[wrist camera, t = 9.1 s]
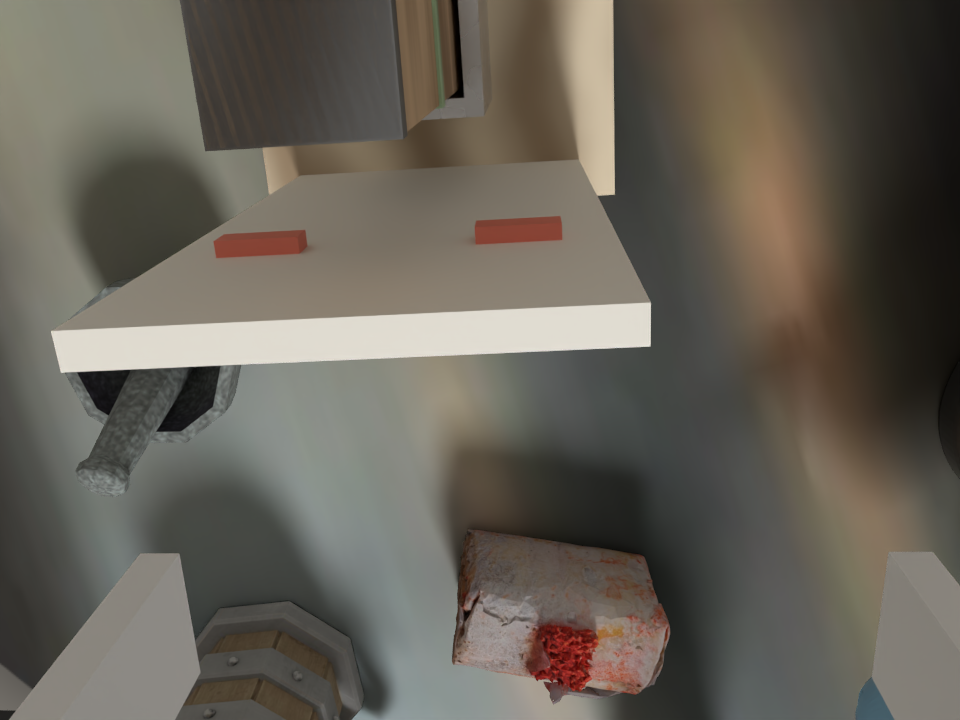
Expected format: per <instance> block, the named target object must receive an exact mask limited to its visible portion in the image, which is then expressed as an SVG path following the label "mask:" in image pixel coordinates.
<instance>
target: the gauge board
mask: <svg viewBox="0 0 960 720" xmlns="http://www.w3.org/2000/svg"><path fill="white" fill-rule="evenodd" d="M51 333H52V338H53V342H54V346H55V350H56V354H57V358H58V362H59V366H60V370H61V373H64V372H86V371H108V370H131V369H153V368H176V367H198V366H221V365H243V364H266V363H288V362H311V361H333V360H356V359H378V358H401V357H423V356H446V355H468V354H491V353H513V352H536V351H558V350H581V349H603V348H626V347H648V346H650V344H651V302H650V300H649V298H648V296H647V294H646V292H645V290H644V288H643V286H642V284H641V282H640V280H639V278H638V276H637V274H636V272H635V270H634V268H633V266H632V264H631V262H630V260H629V258H628V256H627V254H626V252H625V250H624V248H623V246H622V244H621V242H620V240H619V238H618V236H617V234H616V232H615V230H614V228H613V226H612V224H611V222H610V220H609V218H608V216H607V214H606V212H605V210H604V208H603V206H602V204H601V202H600V200H599V198H598V196H597V195H596V193H595V191H594V189H593V187H592V185H591V183H590V181H589V179H588V177H587V175H586V173H585V171H584V169H583V167H582V165H581V163H580V161H579V159H576V160H559V161H541V162H524V163H507V164H490V165H472V166H455V167H438V168H420V169H403V170H386V171H369V172H351V173H334V174H317V175H301V176H299V177H297V178H296V179H294V180H293V181H291V182H289V183H288V184H286V185H285V186H283V187H281V188H280V189H278V190H277V191H275V192H273V193H272V194H270V195H269V196H267V197H265V198H264V199H262V200H261V201H259V202H257V203H256V204H254V205H253V206H251V207H249V208H248V209H246V210H244V211H243V212H241V213H240V214H238V215H236V216H235V217H233V218H232V219H230V220H228V221H227V222H225V223H224V224H222V225H220V226H219V227H217V228H216V229H214V230H212V231H211V232H209V233H208V234H206V235H204V236H203V237H201V238H200V239H198V240H196V241H195V242H193V243H192V244H190V245H188V246H187V247H185V248H183V249H182V250H180V251H179V252H177V253H175V254H174V255H172V256H171V257H169V258H167V259H166V260H164V261H163V262H161V263H159V264H158V265H156V266H155V267H153V268H151V269H150V270H148V271H147V272H145V273H143V274H142V275H140V276H139V277H137V278H135V279H134V280H132V281H130V282H129V283H127V284H126V285H124V286H122V287H121V288H119V289H118V290H116V291H114V292H113V293H111V294H110V295H108V296H106V297H105V298H103V299H102V300H100V301H98V302H97V303H95V304H94V305H92V306H90V307H89V308H87V309H86V310H84V311H82V312H81V313H79V314H78V315H76V316H74V317H73V318H71V319H69V320H68V321H66V322H65V323H63V324H61V325H60V326H58V327H57V328H55V329H53V330H52V331H51Z"/></svg>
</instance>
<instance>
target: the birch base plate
mask: <svg viewBox="0 0 960 720" xmlns="http://www.w3.org/2000/svg"><path fill="white" fill-rule="evenodd" d="M487 9H488V27H489V46H490V64H491V82H492V100H491V103H490V105H489V107H488V109H487V112H486V114H485V116H481V117H465V118H448V119H432V120H421V121H420V122H419V123H417V124H416V125H415V126H414V127H413V128H411V129H410V130H409V131H408V132H407V133H408V136H407V137H405V138H404V139H400V140H383V141H367V142H350V143H333V144H317V145H300V146H283V147H267V148H263V154H264V161H265V168H266V175H267V182H268V189H269V195H270V194H272V193H273V192H275V191H277V190H278V189H280V188H281V187H283V186H285V185H286V184H288V183H289V182H291V181H293V180H294V179H296V178H297V177H299V176H301V175H317V174H334V173H351V172H369V171H386V170H403V169H420V168H438V167H455V166H472V165H490V164H507V163H524V162H541V161H559V160H576V159H579V161H580V163H581V165H582V167H583V169H584V171H585V173H586V175H587V177H588V179H589V181H590V183H591V185H592V187H593V189H594V191H595V193H596V195H615V171H614V56H613V0H487Z"/></svg>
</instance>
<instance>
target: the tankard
mask: <svg viewBox="0 0 960 720" xmlns="http://www.w3.org/2000/svg"><path fill="white" fill-rule="evenodd" d="M195 644H196V650H197V655H198V661H199V666H200V672H201V673H200V674H199V676H198V678H197V680H196V682H195V684H194V686H193V687H192V689H191V691H190V693H189V695H188V697H187V698H186V700H185V702H184V704H183V706H182V708H181V710H180V711H179V713H178V715H177V717H176V719H175V720H352V718H353V717H354V716H355V715H356V714H357V713H358V712H359V711H360V709H361V708H362V703H363V699H364V693H363V689H362V685H361V681H360V677H359V673H358V669H357V665H356V660H355V656H354V652H353V648H352V644H351V640H350V638H348V637H347V636H345V635H344V634H342V633H340V632H339V631H337V630H335V629H334V628H332V627H331V626H329V625H327V624H326V623H324V622H322V621H321V620H319V619H318V618H316V617H314V616H313V615H311V614H309V613H308V612H306V611H305V610H303V609H301V608H300V607H298V606H296V605H295V604H293V603H291V602H290V601H286V602H277V603H267V604H258V605H248V606H239V607H229V608H220V609H218V611H217V612H216V613H215V615H214V616H213V617H212V619H211V620H210V621H209V623H208V624H207V625H206V627H205V628H204V629H203V630H202V632H201V633H200V634H199V636H198V637H197V638H196V640H195Z"/></svg>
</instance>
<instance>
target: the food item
mask: <svg viewBox="0 0 960 720" xmlns="http://www.w3.org/2000/svg"><path fill="white" fill-rule="evenodd" d="M459 576H460V578H459V583H458V593H457V596H458V613H457V617H456V623H457V625H456V630H455V635H454V642H453V654H452V663H453V665H466V666H471V667H477V668H483V669H486V670H490V671H494V672H500V673H508V674H513V675H518V676H524V677H532V678H536V680H537V681H538V679H540V680H542V679H545V680H550V681H551V682H552V683H549V682H544V684H545V687H546V688H547V689H548V691H549V692H550V698H551V701H552V703H553V704H555V703H557V702H559V701H560V700H561V698H562V696H564V695H574V696H579V697H588V698H596V699H599V698H604V697H609V696H613V695H617V694H621V693H630V694H634V695H635V694H638V693H640V692H642V690H643V689H644V688H646V687H649V686H650V685H654V684H655V681H656V678H657V677H658V676H659V674H660V672H661V669H662V667H663V662H664V651H665V648H666V645H667V643H668V640H669V636H670V625H669V621H668V619H667V616H666V614H665V612H664V610H663V607H662V605H661V604H659V603H658V599H657V596H656V594H655V592H654V589H653V584H652V580H651V577H650V574H649V569H648V566H647V563H646V560H645V557H644V556H642V555H639V554H632V553H626V552H620V551H615V550H609V549H603V548H597V547H586V546H579V545H574V544H569V543H562V542H556V541H550V540H544V539H536V538H530V537H525V536H518V535H509V534H502V533H497V532H495V533H494V532H488V531H483V530H469V529H468V531H467V534H466V538H465V541H463V554H462V556H461V570H460V575H459ZM553 681H555V682H554V683H553ZM583 687H586V688H585V689H583V690H582V688H583ZM596 692H597V693H596ZM553 700H554V701H553Z"/></svg>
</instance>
